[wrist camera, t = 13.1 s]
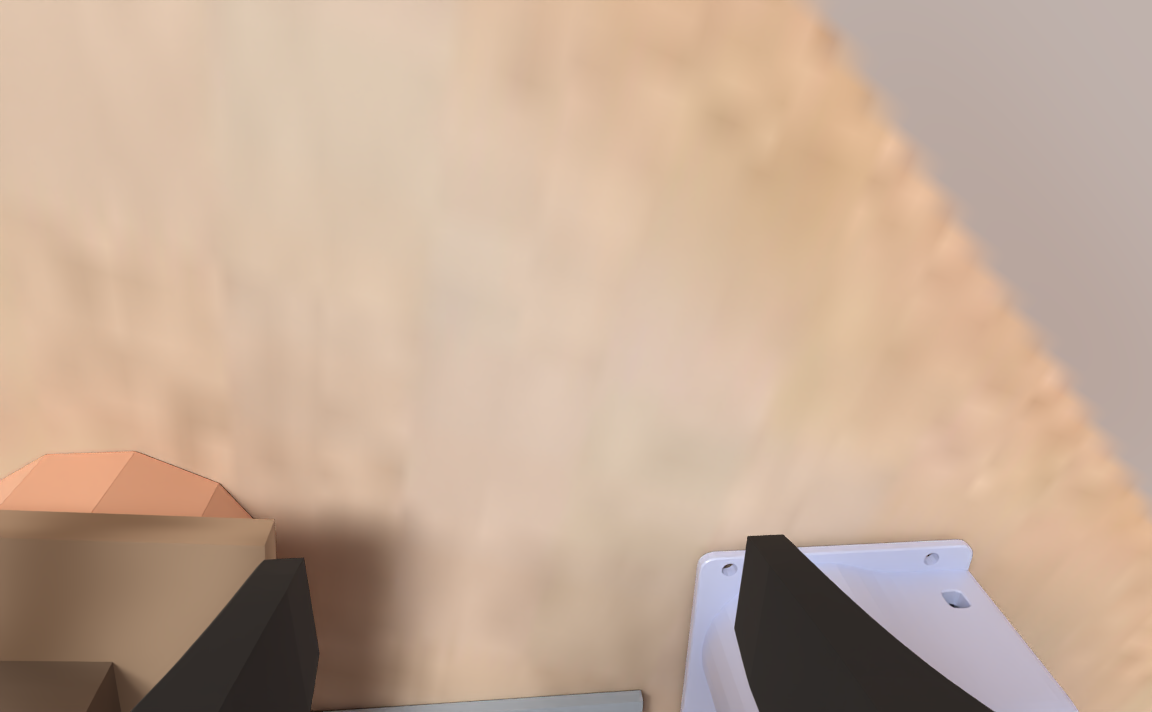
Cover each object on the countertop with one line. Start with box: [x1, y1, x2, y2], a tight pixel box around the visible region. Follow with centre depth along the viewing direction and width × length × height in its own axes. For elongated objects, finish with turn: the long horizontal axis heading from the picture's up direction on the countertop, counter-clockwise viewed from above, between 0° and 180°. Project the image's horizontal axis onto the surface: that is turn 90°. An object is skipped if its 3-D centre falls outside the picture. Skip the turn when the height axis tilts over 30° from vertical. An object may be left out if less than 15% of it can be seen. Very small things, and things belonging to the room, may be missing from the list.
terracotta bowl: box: [0, 451, 253, 519], centre depth 23 cm, size 9×9×4 cm
